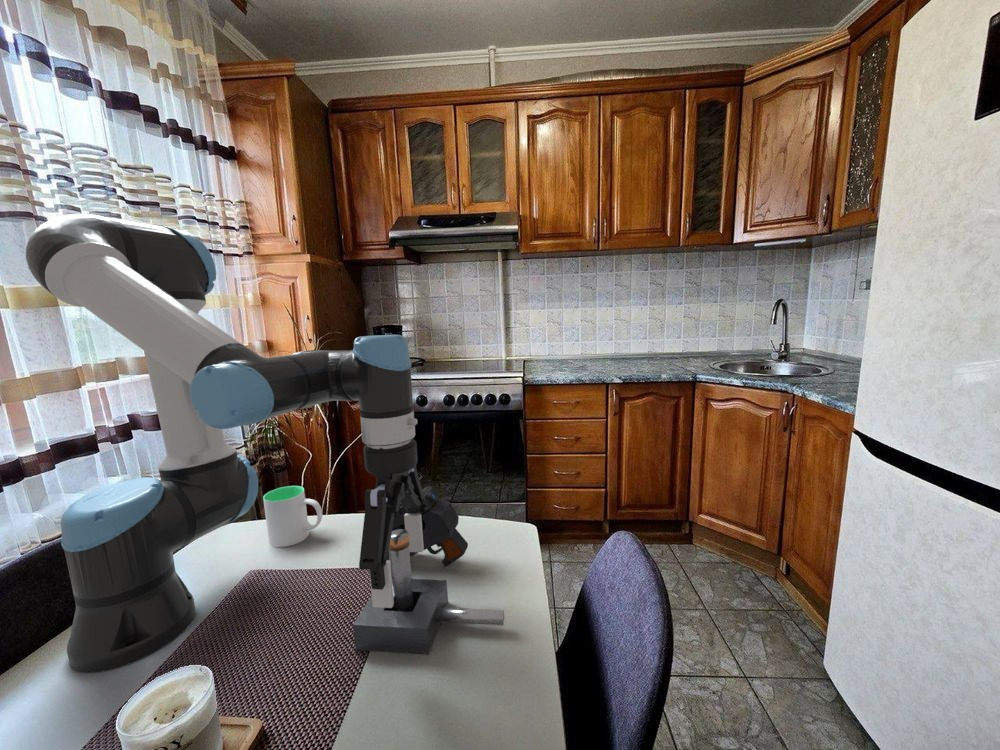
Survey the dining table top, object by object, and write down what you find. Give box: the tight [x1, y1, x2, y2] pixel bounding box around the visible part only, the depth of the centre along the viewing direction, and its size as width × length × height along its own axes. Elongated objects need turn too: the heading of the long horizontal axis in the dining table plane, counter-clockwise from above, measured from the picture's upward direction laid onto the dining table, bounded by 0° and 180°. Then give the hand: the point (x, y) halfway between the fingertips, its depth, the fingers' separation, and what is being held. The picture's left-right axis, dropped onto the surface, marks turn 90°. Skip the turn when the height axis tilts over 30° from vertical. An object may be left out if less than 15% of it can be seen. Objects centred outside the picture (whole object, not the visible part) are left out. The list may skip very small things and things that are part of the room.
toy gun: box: [387, 485, 469, 569], centre depth 83 cm, size 6×19×15 cm
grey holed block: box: [352, 578, 505, 656], centre depth 65 cm, size 21×11×4 cm, turn 83°
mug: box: [262, 485, 323, 548], centre depth 94 cm, size 12×8×10 cm
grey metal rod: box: [389, 529, 414, 612], centre depth 65 cm, size 3×3×15 cm
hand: (401, 575), depth 65 cm, fingers open, 13 cm apart
